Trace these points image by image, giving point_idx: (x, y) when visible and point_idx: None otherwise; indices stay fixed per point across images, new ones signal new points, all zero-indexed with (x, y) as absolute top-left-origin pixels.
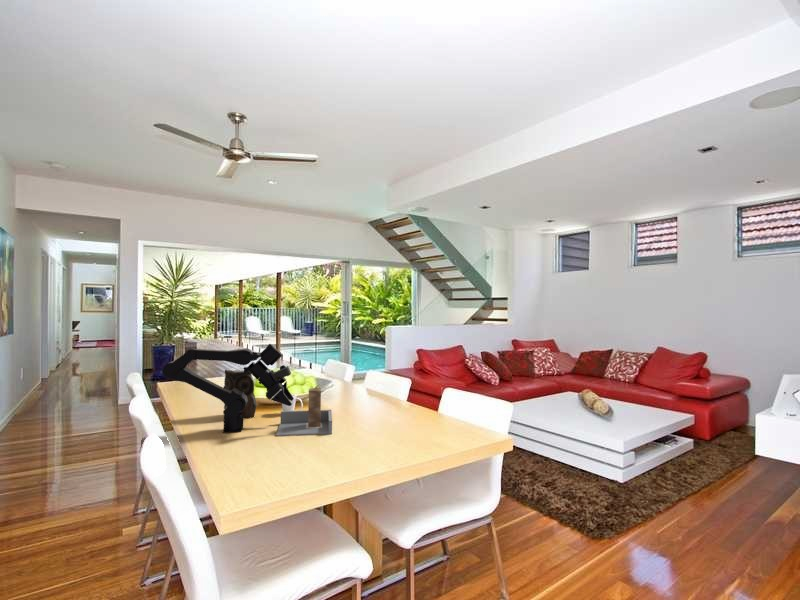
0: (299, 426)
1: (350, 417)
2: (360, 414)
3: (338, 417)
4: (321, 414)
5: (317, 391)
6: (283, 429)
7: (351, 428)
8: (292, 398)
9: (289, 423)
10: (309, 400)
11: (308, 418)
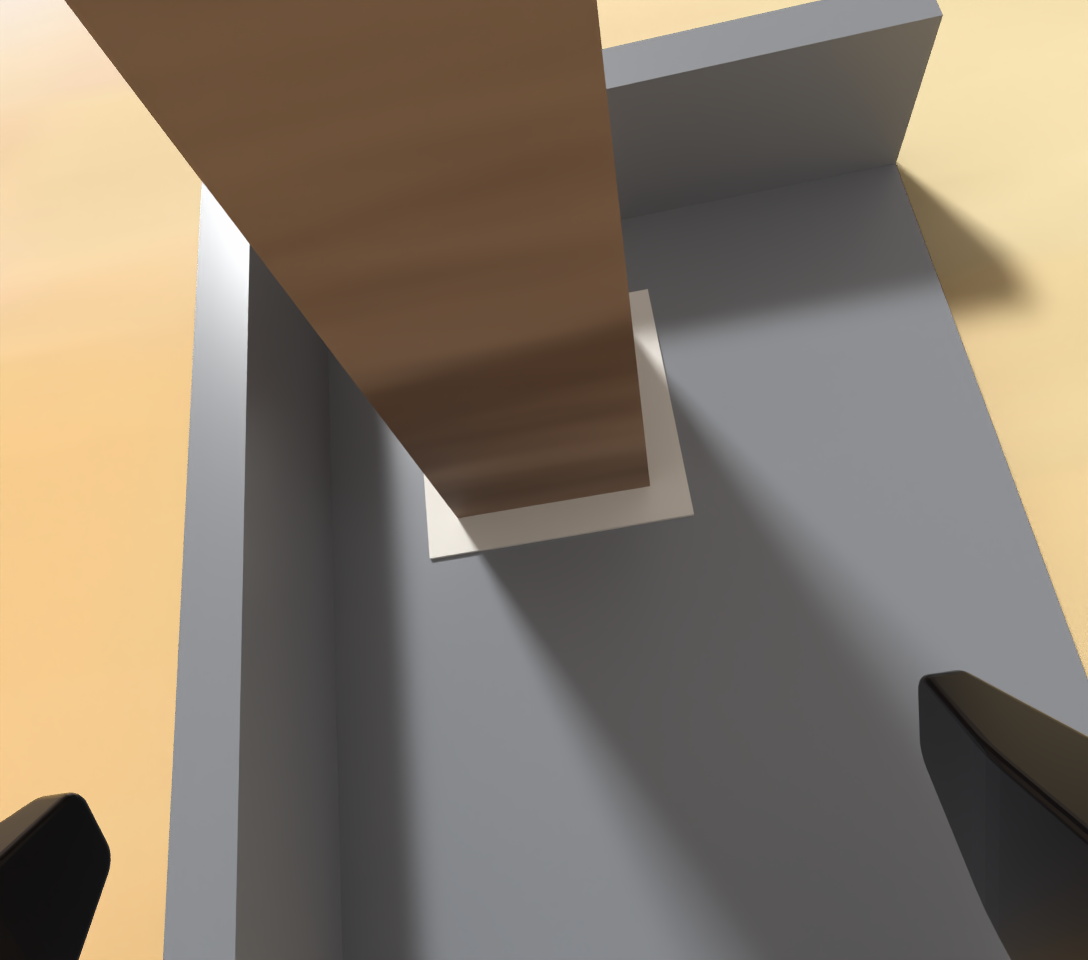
0: (595, 641)
1: (118, 103)
2: (13, 35)
3: (87, 226)
4: (279, 303)
5: None
6: (812, 913)
7: (602, 6)
8: (60, 833)
9: (397, 874)
10: (609, 153)
11: (642, 419)
